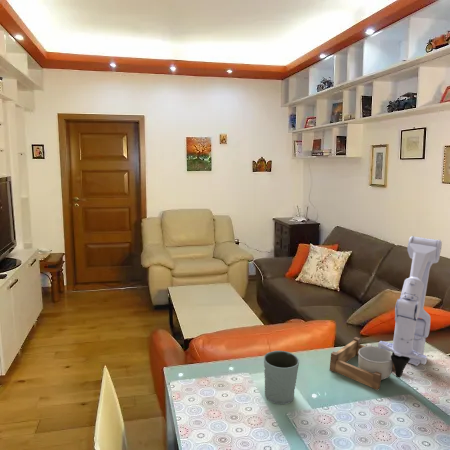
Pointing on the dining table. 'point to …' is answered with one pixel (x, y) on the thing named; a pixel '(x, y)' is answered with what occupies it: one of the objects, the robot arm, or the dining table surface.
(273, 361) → the grey tumbler
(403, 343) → the robot arm
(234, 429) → the dining table surface
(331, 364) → the wooden frame
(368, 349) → the teacup
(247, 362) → the dining table surface
